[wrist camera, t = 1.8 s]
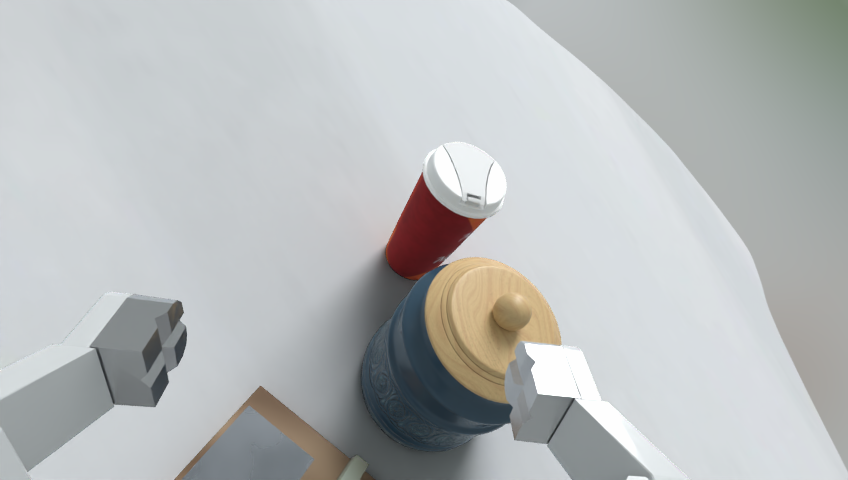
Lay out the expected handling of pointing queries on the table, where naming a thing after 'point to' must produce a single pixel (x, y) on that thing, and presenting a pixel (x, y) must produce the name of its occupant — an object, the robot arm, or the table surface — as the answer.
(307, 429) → the door board
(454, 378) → the canister
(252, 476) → the bar
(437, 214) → the coffee cup
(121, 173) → the table surface
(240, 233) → the table surface
